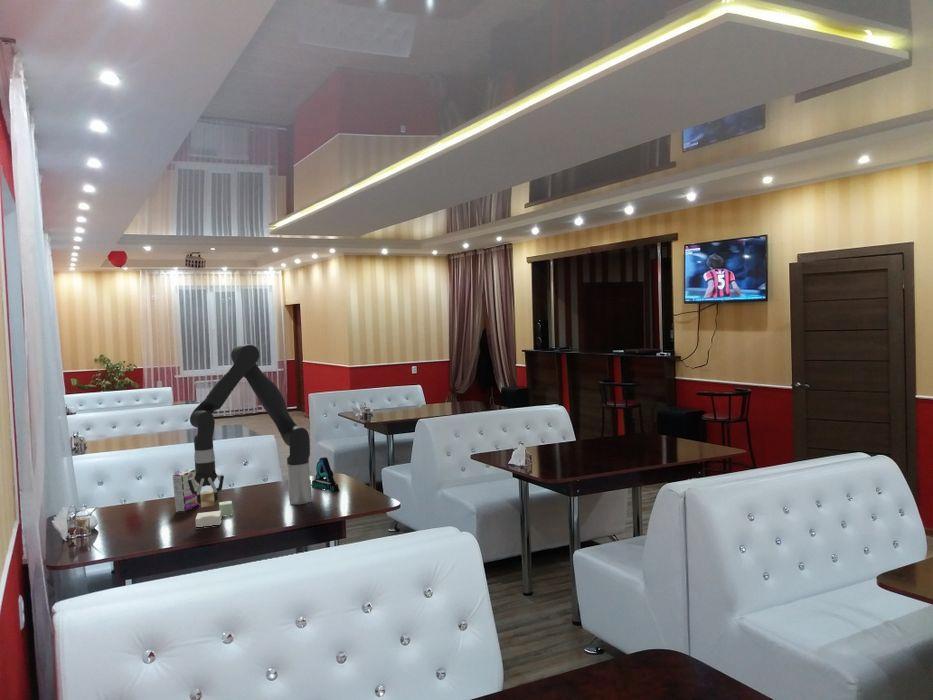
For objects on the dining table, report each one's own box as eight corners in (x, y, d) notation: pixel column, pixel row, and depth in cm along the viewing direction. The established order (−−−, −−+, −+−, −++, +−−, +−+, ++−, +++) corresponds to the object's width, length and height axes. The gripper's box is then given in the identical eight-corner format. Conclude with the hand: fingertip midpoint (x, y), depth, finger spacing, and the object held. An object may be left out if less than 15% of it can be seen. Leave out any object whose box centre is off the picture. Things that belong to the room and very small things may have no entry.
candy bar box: (190, 505, 313) (187, 468, 312) (200, 505, 312) (197, 468, 311) (174, 512, 302) (172, 474, 301) (185, 512, 301) (182, 474, 300)
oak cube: (214, 502, 284) (213, 490, 284) (214, 505, 280) (213, 493, 280) (201, 504, 283) (200, 492, 282) (201, 507, 278) (200, 494, 278)
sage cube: (232, 512, 298) (231, 500, 297) (232, 515, 293) (232, 503, 293) (219, 514, 296) (218, 502, 295) (220, 517, 291) (219, 505, 291)
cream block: (221, 520, 287) (221, 510, 287) (220, 526, 278) (219, 516, 278) (198, 523, 285) (197, 513, 284) (196, 529, 276) (195, 519, 276)
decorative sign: (339, 491, 325) (337, 459, 324) (335, 492, 323) (333, 460, 322) (315, 486, 338) (313, 455, 337) (311, 487, 336) (309, 456, 335)
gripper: (223, 456, 286) (226, 498, 287) (185, 460, 281) (188, 503, 282) (224, 459, 279) (227, 502, 280) (185, 464, 274) (188, 507, 275)
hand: (207, 502), depth 281 cm, fingers closed on oak cube, 5 cm apart
